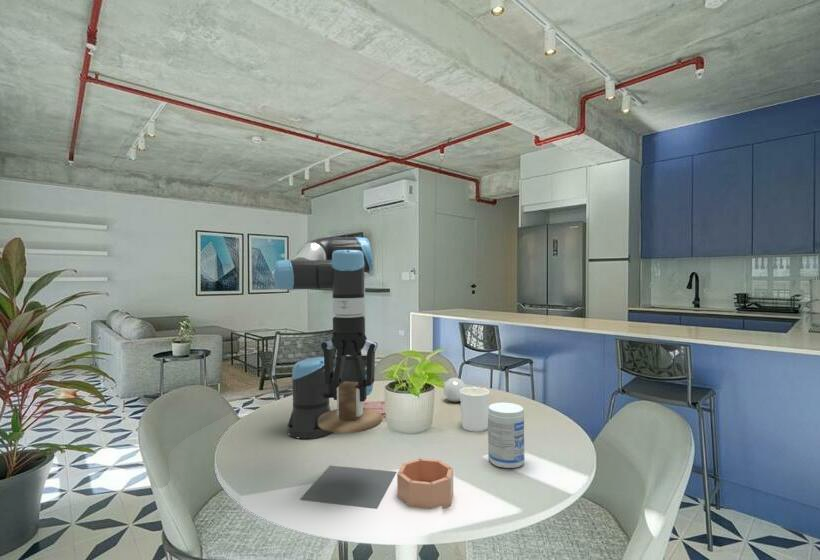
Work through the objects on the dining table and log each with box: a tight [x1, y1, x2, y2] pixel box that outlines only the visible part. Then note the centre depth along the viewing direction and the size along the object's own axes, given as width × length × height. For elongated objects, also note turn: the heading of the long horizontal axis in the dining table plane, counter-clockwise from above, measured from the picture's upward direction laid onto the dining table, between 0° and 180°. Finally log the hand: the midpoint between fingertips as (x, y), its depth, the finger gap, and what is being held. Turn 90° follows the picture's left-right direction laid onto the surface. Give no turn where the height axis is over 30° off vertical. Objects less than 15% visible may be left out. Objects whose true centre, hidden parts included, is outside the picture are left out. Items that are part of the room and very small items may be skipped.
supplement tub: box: [487, 402, 525, 469], centre depth 114 cm, size 10×10×15 cm
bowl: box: [396, 458, 454, 510], centre depth 96 cm, size 12×12×6 cm
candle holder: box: [459, 386, 491, 433], centre depth 139 cm, size 10×10×12 cm
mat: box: [299, 465, 398, 510], centre depth 100 cm, size 18×17×1 cm
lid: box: [318, 381, 383, 434], centre depth 100 cm, size 15×15×9 cm
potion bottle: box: [442, 376, 483, 403], centre depth 167 cm, size 9×10×15 cm
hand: (350, 413), depth 100 cm, fingers closed on lid, 4 cm apart
